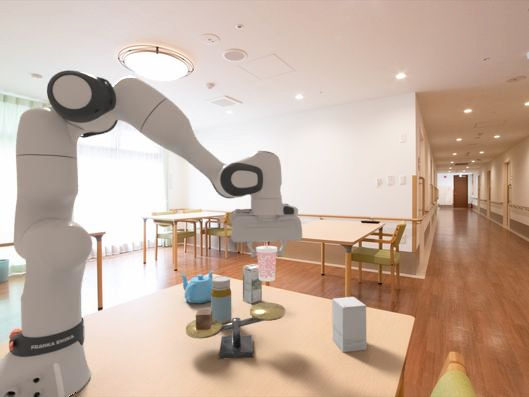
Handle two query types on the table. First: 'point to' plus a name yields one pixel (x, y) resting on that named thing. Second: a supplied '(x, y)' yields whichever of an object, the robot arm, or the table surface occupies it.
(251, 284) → the syrup box
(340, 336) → the supplement box
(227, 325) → the balance
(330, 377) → the table surface
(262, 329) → the table surface
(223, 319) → the bottle
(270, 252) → the beverage cup
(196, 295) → the teapot
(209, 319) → the walnut block
